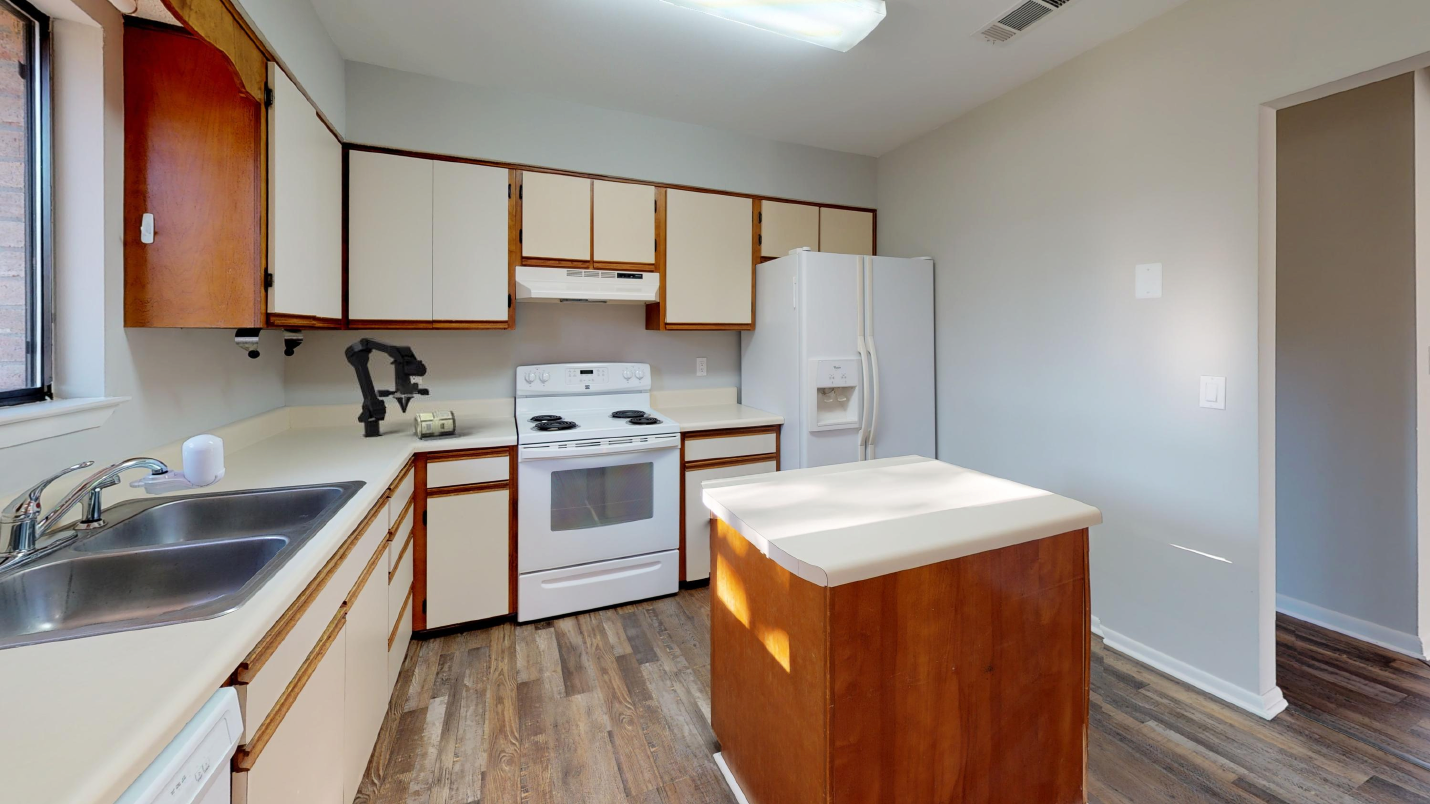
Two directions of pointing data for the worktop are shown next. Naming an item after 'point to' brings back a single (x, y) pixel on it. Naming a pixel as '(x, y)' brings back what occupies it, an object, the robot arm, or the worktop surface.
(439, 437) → the rubber mat
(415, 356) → the robot arm
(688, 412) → the worktop surface
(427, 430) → the coffee can
